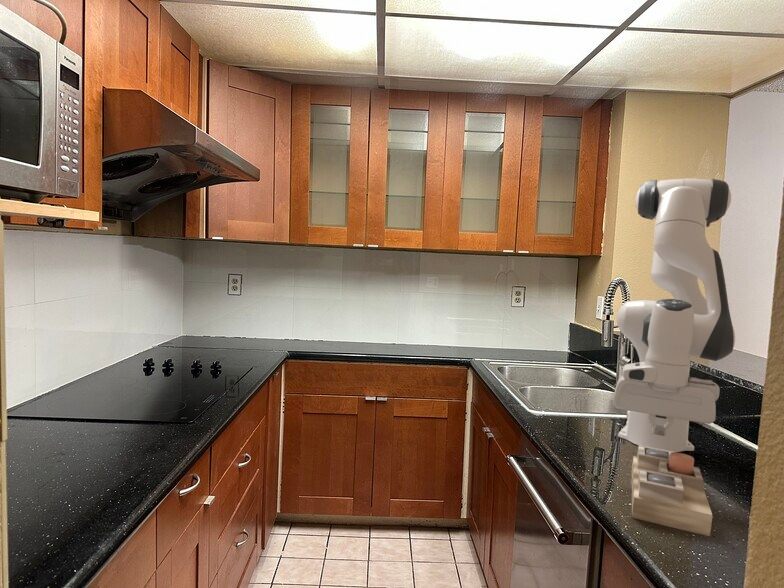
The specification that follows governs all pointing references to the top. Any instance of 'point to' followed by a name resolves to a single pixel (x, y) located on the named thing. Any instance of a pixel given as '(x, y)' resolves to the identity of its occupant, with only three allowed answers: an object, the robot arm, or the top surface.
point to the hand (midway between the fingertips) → (659, 434)
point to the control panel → (669, 495)
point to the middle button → (681, 463)
